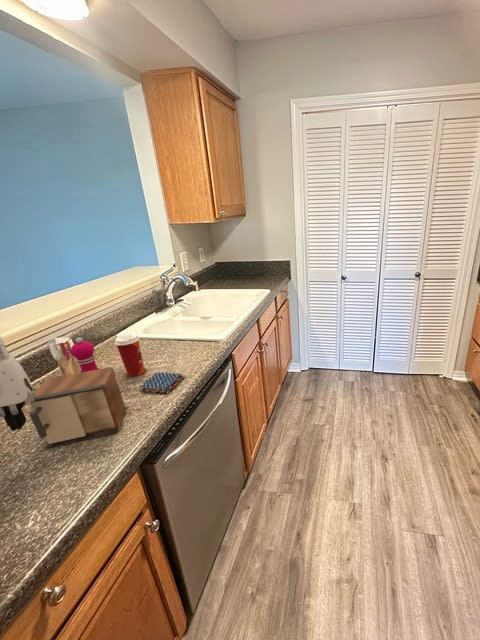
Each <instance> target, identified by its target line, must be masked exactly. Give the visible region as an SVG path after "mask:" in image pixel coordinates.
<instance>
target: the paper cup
mask: <svg viewBox="0 0 480 640" xmlns="http://www.w3.org/2000/svg"><path fill="white" fill-rule="evenodd" d="M114 339H115V342H114V344H115V346H116V347H117V350H118V353H119V355H120V359H121V361H122V364H123V366H124V369H125V371H126V374H127V376H128V377H138V376H140V375H142V374H144V373H145V365H144V359H143V355H142V350H141V345H140V337H139V336H138V334H137V333H125V334H122V335H119V336H117V337H116V338H114Z"/></svg>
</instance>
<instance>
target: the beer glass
mask: <svg viewBox="0 0 480 640" xmlns="http://www.w3.org/2000/svg"><path fill="white" fill-rule="evenodd" d="M47 344H48V348H49V351H50V354H51V357H52V359H53V361H54V362H55V364H56V366H57V367H58V369H59V370H60V372H61V374H62V375H61V376H63V375H69V374H75V373H81V368H80V365H79V364H77V361H76V358H75V357H73V356H72V354H71V347H72V346H73V345H74V344H75V343H74V341H73V339H72V337H71V336H66V335H65V336H59V337H56V338H53V339H50V340H49V341H48V342H47Z"/></svg>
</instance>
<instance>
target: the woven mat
mask: <svg viewBox="0 0 480 640" xmlns="http://www.w3.org/2000/svg"><path fill="white" fill-rule="evenodd" d="M184 378H185V377H184V375H183V373H178V372H177V373H175V372H160V371H158V372H154V374H153V375H151V377H149V378H148V379H147V380H145V381H144V382H142V384H141V385H139V390H140V391H144V392H145V393H146V392H150V393H153V394H155V393H158V392H159V393H160V394H162V393H165V394H169V393H170V391H171V390H172V389H174V388H175V387H176V386H177V385H178V384H179V382H181V381H182V380H183V379H184Z"/></svg>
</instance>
